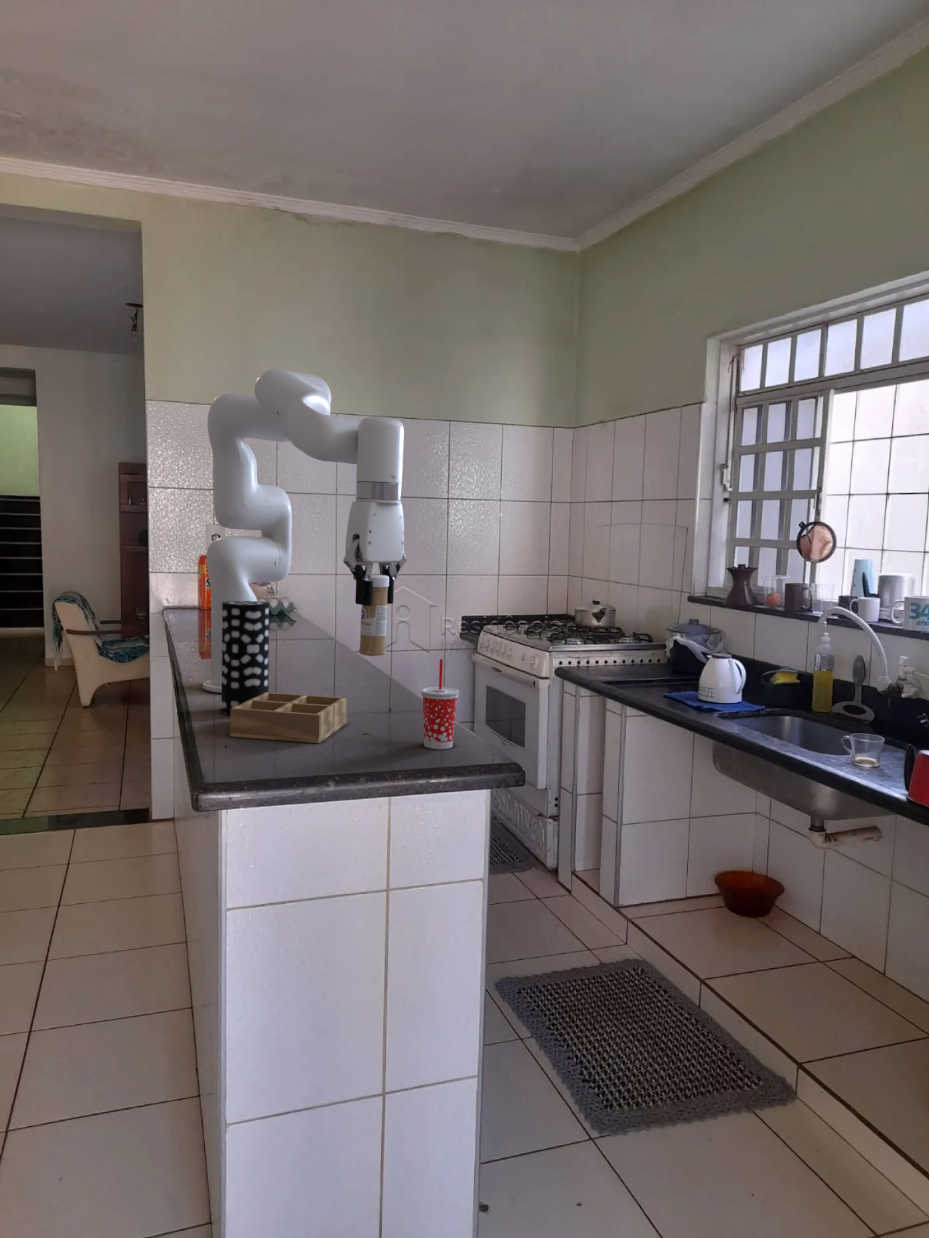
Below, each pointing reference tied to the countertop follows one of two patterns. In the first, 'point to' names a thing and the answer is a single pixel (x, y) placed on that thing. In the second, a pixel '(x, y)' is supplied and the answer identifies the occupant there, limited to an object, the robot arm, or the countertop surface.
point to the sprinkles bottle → (375, 619)
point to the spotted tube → (244, 652)
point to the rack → (288, 717)
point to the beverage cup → (439, 714)
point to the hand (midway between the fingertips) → (374, 602)
